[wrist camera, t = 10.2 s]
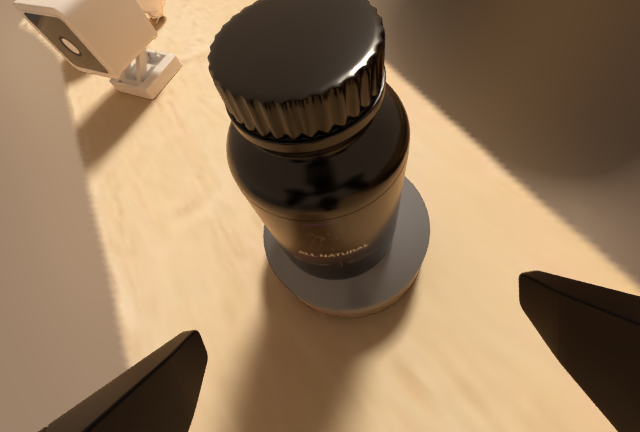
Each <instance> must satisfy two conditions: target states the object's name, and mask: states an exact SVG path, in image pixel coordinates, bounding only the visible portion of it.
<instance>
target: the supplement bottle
mask: <svg viewBox="0 0 640 432" xmlns="http://www.w3.org/2000/svg"><path fill="white" fill-rule="evenodd" d="M210 50H211V52H210V54H209V55H208V61H209V63H210V64H209V72H210V74H211V77H212V78H213V81H214V84H215V86H216V88H217V90H218V92H219V94H220V96H221V97H222V99H223V101H224V103H225V106H226V110H227V113H228V115H229V117H230V119H231V123H230V126H229V130H228V135H227V144H226V150H227V160H228V165H229V168H230V171H231V174H232V176H233V178H234V180H235V182H236V183H237V185H238V187H239V188H240V190H241V191H242V193H243V194H244V196H245V197H246V199H247V200H248V201H249V203H250V204H251V206H252V207H253V208H254V210H255V211H256V213H257V214H258V216H259V217H260V218H261V220H262V221H263V223H264V224H265V225H266V227H267V228H268V230H269V231H270V232H271V234H272V235H273V237H274V238H275V240H276V241H277V242H278V244H279V245H280V247H281V248H282V249H283V251H284V252H285V253H286V255H287V256H288V257H289V259H290V260H291V261H292V262H293V263H294V264H295V265H296V266H297V267H298V268H300V269H301V270H303V271H304V272H306V273H308V274H310V275H312V276H314V277H317V278H321V279H326V280H344V279H349V278H353V277H356V276H359V275H361V274H363V273H365V272H367V271H369V270H370V269H372V268H373V267H374V266H375V265H377V264H378V263H379V262H380V261H381V260H382V258H383V257H384V256H385V255H386V253H387V251H388V250H389V248H390V246H391V243H392V240H393V237H394V233H395V229H396V223H397V218H398V212H399V206H400V200H401V194H402V188H403V182H404V176H405V170H406V164H407V158H408V152H409V142H410V126H409V120H408V116H407V113H406V110H405V108H404V106H403V104H402V102H401V100H400V98H399V97H398V95H397V94H396V93H395V91H394V90H393V89H392V88H391V87H390V86H389V85H388V84H387V83H386V71H385V66H384V57H385V30H384V28H383V22H382V18H381V17H380V16H379V15H378V14H377V9H376V8H375V7H373V6H371V5H370V4H369V1H368V0H258V1H256V2H255V3H253V4H252V5H250V6H248V7H245V8H244V9H243V10H242V11H241V12H240V13H238V14H236V15H234V16H233V17H232V18H231V19H230V21H229V22H227V23H226V24H224V25H223V26H222V29H221V31H220V32H219V33H218V34H216V35H215V40H214V42H213V43H212V44H211V46H210Z"/></svg>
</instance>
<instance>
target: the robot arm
mask: <svg viewBox="0 0 640 432" xmlns="http://www.w3.org/2000/svg"><path fill="white" fill-rule="evenodd" d="M519 301H520V305H521V307H522V309H523V311H524V312H525V314H526V315H527V317H528V318H529V319H530V321H531V322H532V324H533V325H534V327H535V328H536V330H537V331H538V332H539V334H540V335H541V337H542V338H543V340H544V341H545V343H546V344H547V346H548V347H549V348H550V350H551V351H552V353H553V354H554V355H555V357H556V358H557V360H558V361H559V362H560V363H561V365H562V366H563V367H564V368H565V369H566V371H567V372H568V373H569V374H570V375H571V377H572V378H573V379H574V380H575V381H576V382H577V384H578V385H579V386H580V387H581V388H582V390H583V391H584V392H585V393H586V394H587V395H588V397H589V398H590V399H591V400H592V401H593V403H594V404H595V405H596V406H597V407H598V408H599V410H600V411H601V412H602V413H603V414H604V416H605V417H606V418H607V419H608V420H609V422H610V423H611V424H612V425H613V426H614V427H615V429H616V430H617V431H618V432H640V296H636V295H632V294H628V293H624V292H620V291H616V290H612V289H609V288H605V287H601V286H597V285H593V284H589V283H585V282H581V281H577V280H573V279H569V278H565V277H561V276H557V275H553V274H550V273H546V272H542V271H529V272H524V273H521V274H520V275H519ZM207 360H208V355H207V351H206V348H205V346H204V343H203V341H202V338H201V336H200V333H199V332H198V331H197V330H191V331H185V332H182V333H180V334H179V335H177V336H176V337H174V338H173V339H172V340H170V341H169V342H167V343H166V344H164V345H163V346H161V347H160V348H159V349H157V350H156V351H154V352H153V353H151V354H150V355H148V356H147V357H146V358H144V359H143V360H141V361H140V362H138V363H137V364H135V365H134V366H132V367H131V368H130V369H128V370H127V371H125V372H124V373H122V374H121V375H120V376H118V377H117V378H115V379H114V380H112V381H111V382H109V383H108V384H106V385H105V386H104V387H102V388H101V389H99V390H98V391H96V392H95V393H94V394H92V395H91V396H89V397H88V398H86V399H85V400H83V401H82V402H81V403H79V404H78V405H76V406H75V407H73V408H72V409H70V410H69V411H67V412H66V413H65V414H63V415H62V416H60V417H59V418H58V419H56V420H54V421H53V422H52V423H50V424H49V425H48V427H44V428H43V429H41V430H40V431H38V432H188V431H189V428H190V425H191V422H192V419H193V416H194V412H195V409H196V405H197V401H198V397H199V393H200V389H201V385H202V381H203V377H204V373H205V369H206V365H207Z"/></svg>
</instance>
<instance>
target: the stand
mask: <svg viewBox="0 0 640 432" xmlns="http://www.w3.org/2000/svg"><path fill="white" fill-rule="evenodd" d="M429 236H430V223H429V216H428V212H427V209H426V206H425V203H424V201H423V199H422V197H421V195H420V193H419V192H418V190H417V189H416V188H415V186H414V185H413V184H412V183H411V182H410V181H409V180H408V179H407V178H406V177H405V176H404V182H403V188H402V194H401V200H400V206H399V212H398V218H397V223H396V229H395V233H394V237H393V240H392V243H391V246H390V248H389V250H388V251H387V253H386V255H385V256H384V257H383V258H382V260H381V261H380V262H379V263H378V264H377V265H375V266H374V267H373V268H372V269H370V270H369V271H367V272H365V273H363V274H361V275H359V276H356V277H353V278H349V279H344V280H326V279H321V278H317V277H314V276H312V275H310V274H308V273H306V272H304V271H303V270H301V269H300V268H298V267H297V266H296V265H295V264H294V263H293V262H292V261H291V260H290V259H289V257H288V256H287V255H286V253H285V252H284V251H283V249H282V248H281V247H280V245H279V244H278V242H277V241H276V240H275V238H274V237H273V235H272V234H271V232H270V231H269V230H268V228H267V227H266V225H264V236H263V237H264V247H265V251H266V256H267V258H268V261H269V264H270V266H271V268H272V269H273V271H274V273H275V274H276V276H277V277H278V278H279V280H280V281H281V282H282V283H283V284H284V285H285V286H286V287H287V288H288V289H289V290H290V291H291V292H292V293H293V294H294V295H295V296H296V297H297V298H299V299H300V300H301V301H302V302H303V303H305V304H306V305H307V306H309V307H311V308H313V309H315V310H316V311H319V312H321V313H324V314H327V315H331V316H336V317H346V318H351V317H361V316H366V315H370V314H373V313H376V312H379V311H381V310H383V309H385V308H387V307H389V306H390V305H392V304H393V303H395V302H396V301H397V300H398V299H399V298H401V297H402V296H403V295H404V294H405V293H406V291H407V290H408V289H409V288H410V286H411V285H412V283H413V282H414V280H415V278H416V276H417V274H418V271H419V269H420V267H421V264H422V262H423V259H424V257H425V254H426V252H427V248H428V244H429Z"/></svg>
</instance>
